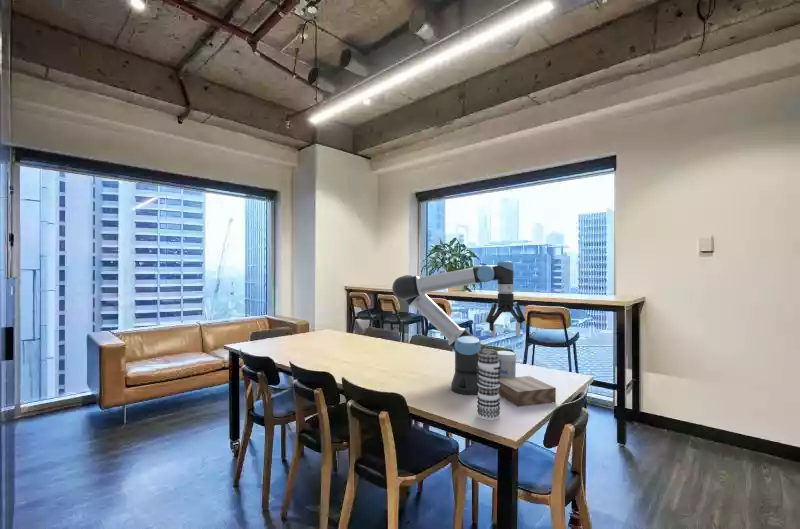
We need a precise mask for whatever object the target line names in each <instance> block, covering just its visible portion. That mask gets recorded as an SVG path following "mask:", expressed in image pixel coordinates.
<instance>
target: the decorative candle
mask: <svg viewBox="0 0 800 529" xmlns="http://www.w3.org/2000/svg"><path fill="white" fill-rule="evenodd" d="M497 351H498V350H497V349H496V350H495V349H493V348H482V349H481V351H480V352H479V353H478V359H479V360H478V365H477V366H476V368H477V371H476V372H477V374H478V375H477V378H478V379H477V382H478V383H477V385H478V386H479V387H478V390H479V391H478V394H477V396H476V399H477V401H476V403H477V405H476V408H477V409H476V412H477V413H476V416H477V418H479V419H481V420H485V421H486V420H487V421H495V420H499V419H500V418H501V415H500V414H501V406H500V404H501V403H500V401H501V398H500V395H499V387H500V381H499V380H498V379H500V378H501V377H500V376H499V374H501V373H500V372H499V371H498V369H501V367H500V366H499V355H500V354H498V353H497ZM478 366H479V368H478ZM478 371H479V372H478Z"/></svg>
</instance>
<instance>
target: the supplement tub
mask: <svg viewBox="0 0 800 529" xmlns="http://www.w3.org/2000/svg"><path fill="white" fill-rule="evenodd" d="M496 351H497V353H498V354H500V355H499V366H500V367H501V369H498V371H499V372H500V373H501V374H499V376H500V377H501V378H500V379H502V378H513V377H516V365H517V364H516V363H517V361H516V359H517V356H516V352H513V351H508V350H496Z"/></svg>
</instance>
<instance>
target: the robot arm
mask: <svg viewBox="0 0 800 529" xmlns="http://www.w3.org/2000/svg"><path fill="white" fill-rule="evenodd" d="M514 271H515V270H514V263H513V261H510V260H507V261H506V260H505V261H504V260H503V261H502V260H501V261H497V264H493V265H490V264H478V265H473V266H472V267H468V268H463V269H458V270H452V271H447V272H442V273H437V274H430V275H426V276H418V275H409V274H406V275H402V276H399V277H397V278H396V279H395V280H394V282H393V283H392V287H391V288H392V292H393V295H394V296H395V297H396V298H398V299H399V300H402V301H404V302H405V303H406V304H407V305H408V306H410V307H415V308H416V309H417V310H418V311H419V313H420V314H421V315H423V317H424V318H426V320H428V322H429V323H431V325H433V327H435V328H436V329H437V330H438V332H440V333H441V335H442V336H443V337H445V339H447V340H448V346H449V347H450V348H451V349H452V350H453V351H454V373H453V377H452V381H451V382H450V389H451V391H452V392H454V393H456V394H461V395H471V396H474V395H478V391H479V390H478V387H479V386H478V385H477V383H478V382H477V379H478V378H477V375H478V374H477V372H476V371H477V368H476V366H477V365H478V360H479V359H478V353H479V352H480V351H481V350H482V349H481V348H482V345H481V344H482V343H481V340H480V339H479V338H478V337H476V336H475V335H474V334H471V332H469V330H468V329H466V328H465V327H460V325H458V324H457V323H456V322H455V321H454V320H453V319H452V318H451V317H450V316H449V315H448V314H447V313H446V312H445V311H444V310H443V309H442V308H441V307H440V306H439V305H438V304H437V303H436V302H435V301H434V300H433V299H432V298H431V297H429V296H428V294H427V293H430V292H436V291H441V290H446V289H453V288H457V287H464V286H469V285H474V284H480V283H489V282H491V281H493V282H494V281H495V282H497V303H496V302H492V303H491V307H490V310H489V313H488V314H487V317H486V319H485V322H486V323H488V324H489V331H490V338H493V339H496V324H495V322H496V321H497V319H498V318H499V317H500V316H501V315H502V313H510V314H511V315H512V317H513V318H514V319H515V320H516V322H515V336H516V337H521V330H522V323H524V322H525V321H526V318H525V316H524V313H523V311H522V308H521V307H520V302H517V301H515V302H514V280H515V279H514V278H515V276H514ZM478 368H479V366H478ZM478 372H479V371H478Z"/></svg>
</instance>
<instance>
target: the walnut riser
mask: <svg viewBox="0 0 800 529" xmlns="http://www.w3.org/2000/svg"><path fill="white" fill-rule="evenodd" d="M498 380H499V381H500V387H499V397H502V398H503V399H504V400H506V401H508V402H510V403H511V404H513V405H515V406H516V407H517V408H519V407H526V406H536V405H537V406H538V405H544V404H545V403H546V404H553V403H552V402H554V403H556V402H557V401H556V399H557V397H556V396H557V394H556V393H557V390H556V387H555V386H553V385H550V384H548V383H547V382H544V381H542V380H539V379H537V378H535V377H533V376H531V375H527V376H525V375H524V376H515V377H513V378H502V379H498Z"/></svg>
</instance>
